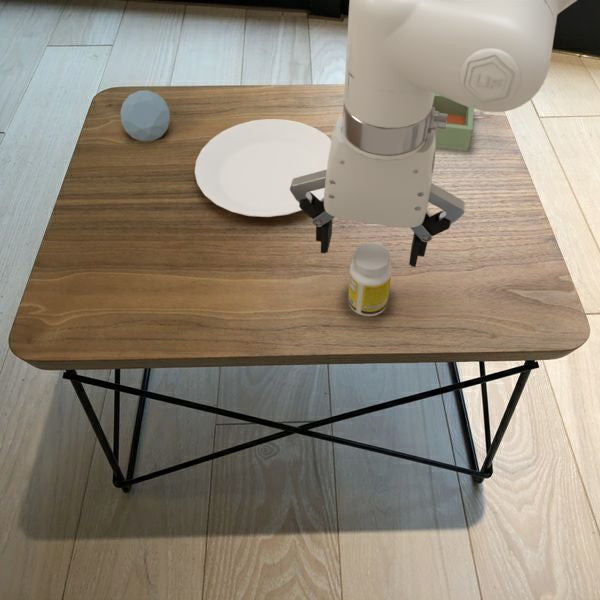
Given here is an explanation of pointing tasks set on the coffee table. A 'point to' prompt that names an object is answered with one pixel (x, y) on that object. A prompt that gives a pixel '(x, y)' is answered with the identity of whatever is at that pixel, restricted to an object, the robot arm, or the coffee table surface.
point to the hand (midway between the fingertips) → (369, 250)
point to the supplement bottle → (369, 279)
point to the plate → (261, 166)
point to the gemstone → (145, 115)
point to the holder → (454, 124)
